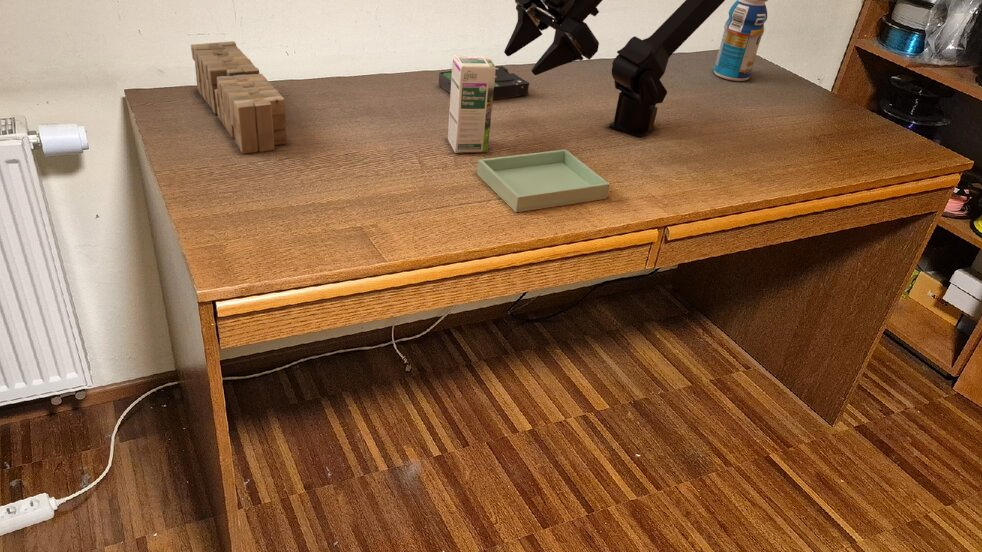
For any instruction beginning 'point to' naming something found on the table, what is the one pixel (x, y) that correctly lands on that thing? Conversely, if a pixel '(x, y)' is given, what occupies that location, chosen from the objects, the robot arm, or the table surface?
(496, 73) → the disk drive
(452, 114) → the syrup box
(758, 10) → the beverage bottle
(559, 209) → the table surface
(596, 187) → the tray
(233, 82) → the block tower
